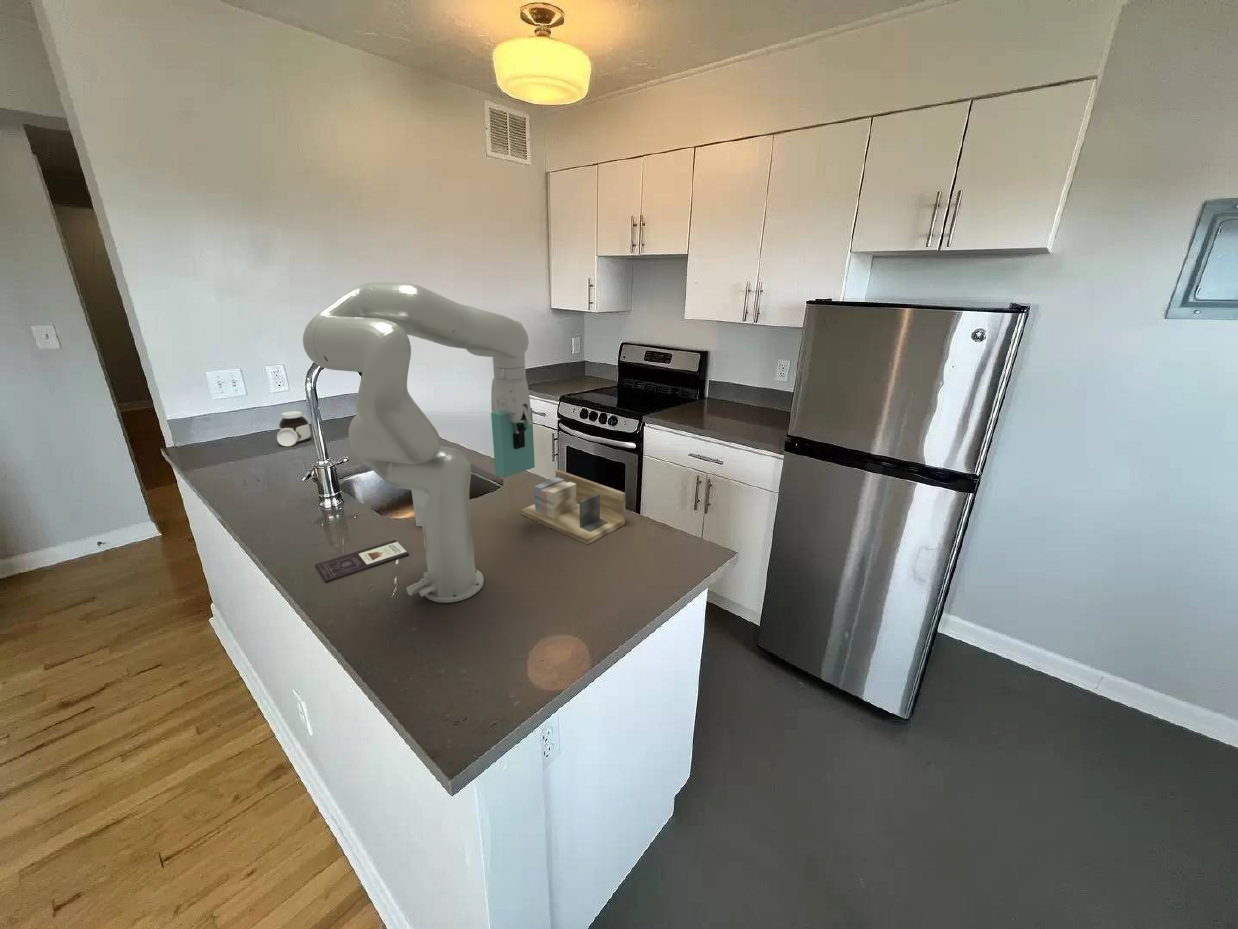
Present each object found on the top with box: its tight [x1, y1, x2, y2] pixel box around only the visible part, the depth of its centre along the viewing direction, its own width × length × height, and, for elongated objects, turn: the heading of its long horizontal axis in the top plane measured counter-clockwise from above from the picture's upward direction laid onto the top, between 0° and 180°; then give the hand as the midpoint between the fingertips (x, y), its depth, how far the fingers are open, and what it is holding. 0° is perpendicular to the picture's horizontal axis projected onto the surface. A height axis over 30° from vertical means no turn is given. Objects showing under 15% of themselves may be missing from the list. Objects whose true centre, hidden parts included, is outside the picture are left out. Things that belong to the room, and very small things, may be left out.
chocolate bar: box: [314, 539, 410, 584], centre depth 117 cm, size 9×1×18 cm
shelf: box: [519, 469, 626, 546], centre depth 138 cm, size 15×26×10 cm, turn 50°
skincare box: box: [410, 490, 429, 527], centre depth 135 cm, size 8×6×15 cm
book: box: [490, 407, 535, 479], centre depth 126 cm, size 10×4×16 cm, turn 141°
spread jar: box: [276, 410, 312, 447], centre depth 198 cm, size 12×11×12 cm
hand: (513, 445), depth 127 cm, fingers closed on book, 3 cm apart
